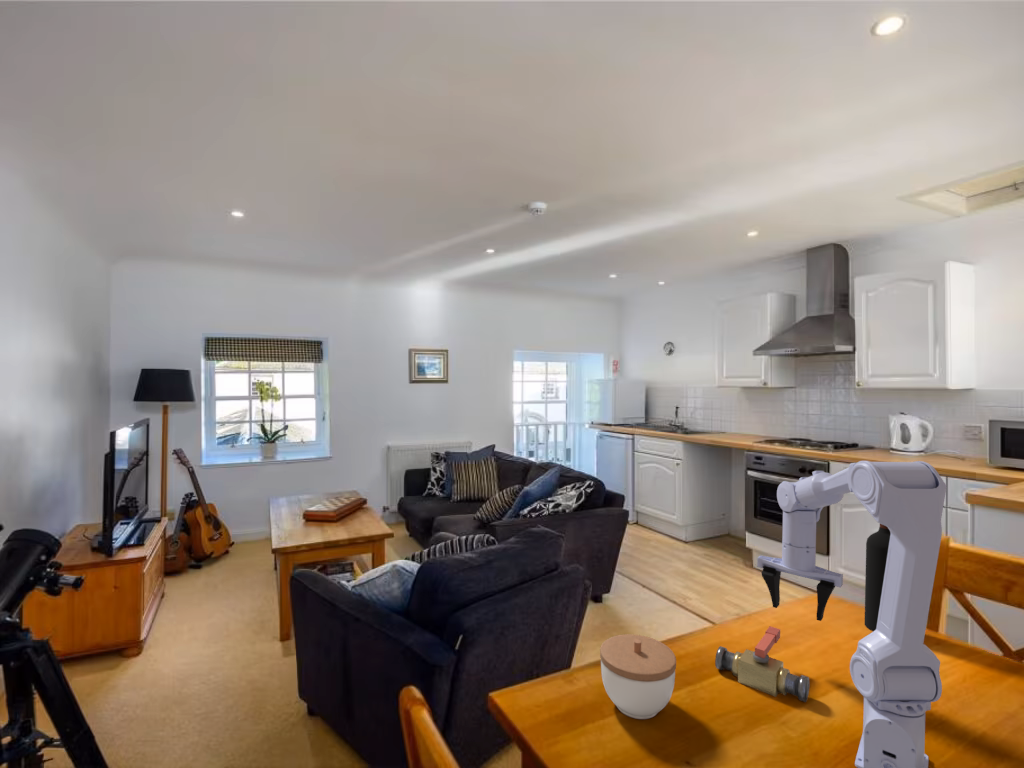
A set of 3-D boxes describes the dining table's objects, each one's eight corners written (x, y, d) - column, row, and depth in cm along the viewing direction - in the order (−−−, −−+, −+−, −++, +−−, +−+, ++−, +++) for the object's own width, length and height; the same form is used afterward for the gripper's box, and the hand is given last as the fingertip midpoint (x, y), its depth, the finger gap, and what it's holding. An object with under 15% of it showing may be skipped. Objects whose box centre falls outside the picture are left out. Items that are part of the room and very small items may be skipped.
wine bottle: (857, 624, 115) (859, 494, 115) (876, 618, 119) (879, 491, 118) (893, 640, 109) (896, 501, 108) (913, 633, 112) (916, 498, 111)
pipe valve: (809, 695, 90) (810, 671, 90) (803, 708, 86) (804, 683, 86) (723, 662, 100) (723, 641, 99) (714, 673, 96) (714, 650, 96)
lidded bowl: (644, 676, 95) (644, 618, 94) (691, 719, 83) (693, 652, 83) (585, 692, 90) (586, 630, 89) (628, 739, 78) (629, 669, 78)
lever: (766, 664, 91) (766, 652, 91) (751, 659, 93) (751, 646, 93) (781, 641, 99) (782, 629, 99) (767, 636, 101) (767, 625, 101)
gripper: (846, 547, 97) (844, 617, 97) (765, 530, 107) (763, 594, 107) (839, 556, 92) (837, 630, 92) (754, 538, 101) (753, 605, 102)
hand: (797, 612), depth 99 cm, fingers open, 7 cm apart
